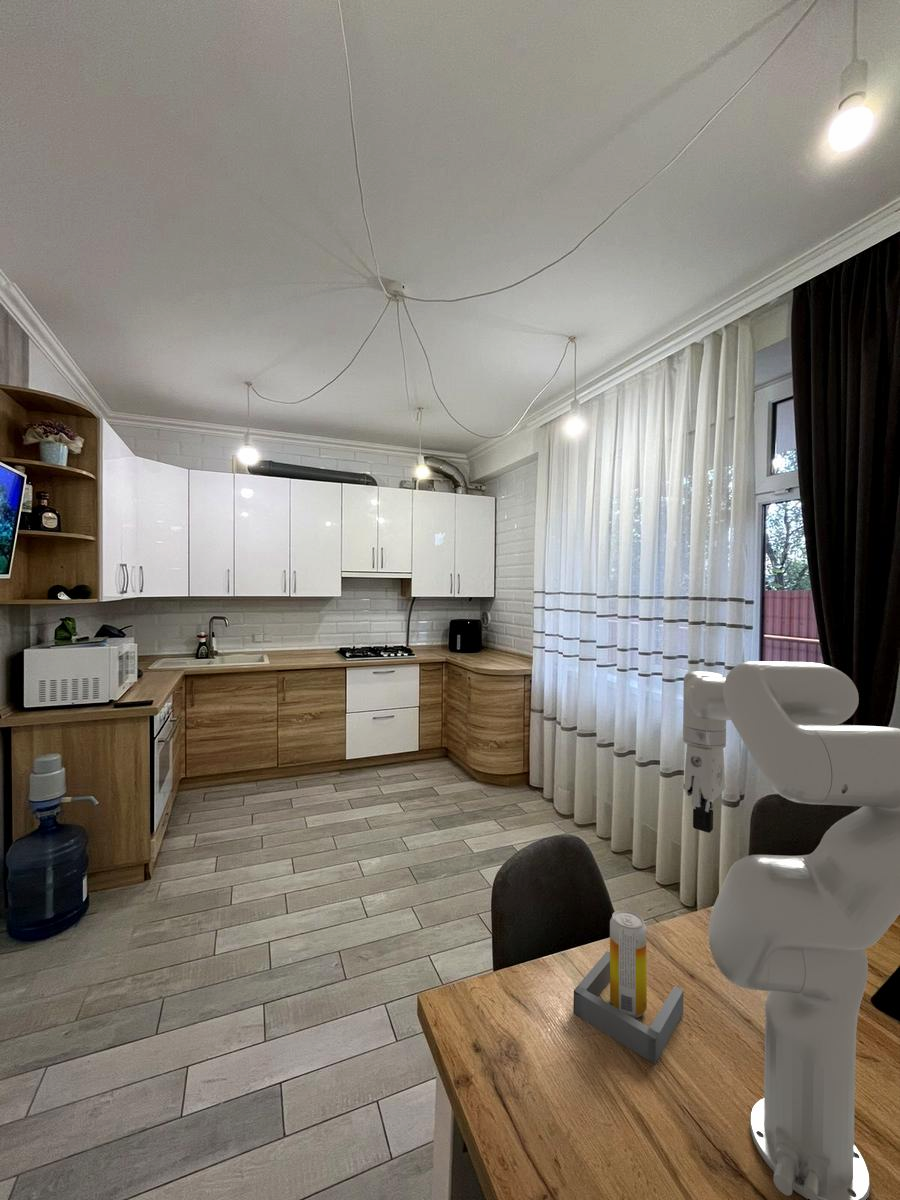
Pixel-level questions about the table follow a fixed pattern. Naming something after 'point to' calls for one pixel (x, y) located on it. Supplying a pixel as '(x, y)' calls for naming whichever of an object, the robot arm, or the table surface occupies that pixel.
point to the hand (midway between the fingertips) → (702, 829)
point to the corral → (619, 1023)
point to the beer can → (628, 963)
